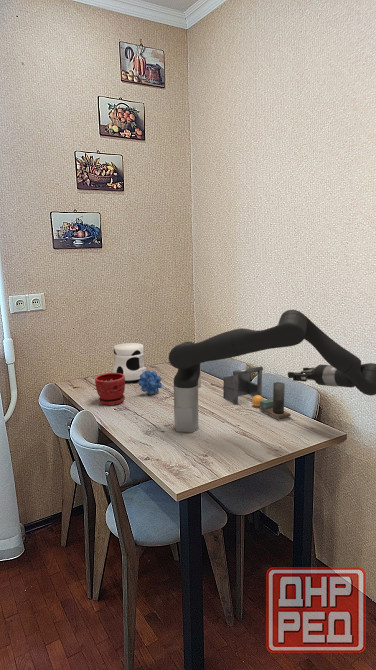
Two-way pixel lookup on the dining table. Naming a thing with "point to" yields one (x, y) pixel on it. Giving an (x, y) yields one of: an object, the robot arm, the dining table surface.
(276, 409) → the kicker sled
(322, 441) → the dining table surface
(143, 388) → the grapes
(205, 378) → the dining table surface
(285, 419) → the rail
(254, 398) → the ball
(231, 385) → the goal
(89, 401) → the dining table surface
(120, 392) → the plant pot
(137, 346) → the milk container
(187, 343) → the robot arm
